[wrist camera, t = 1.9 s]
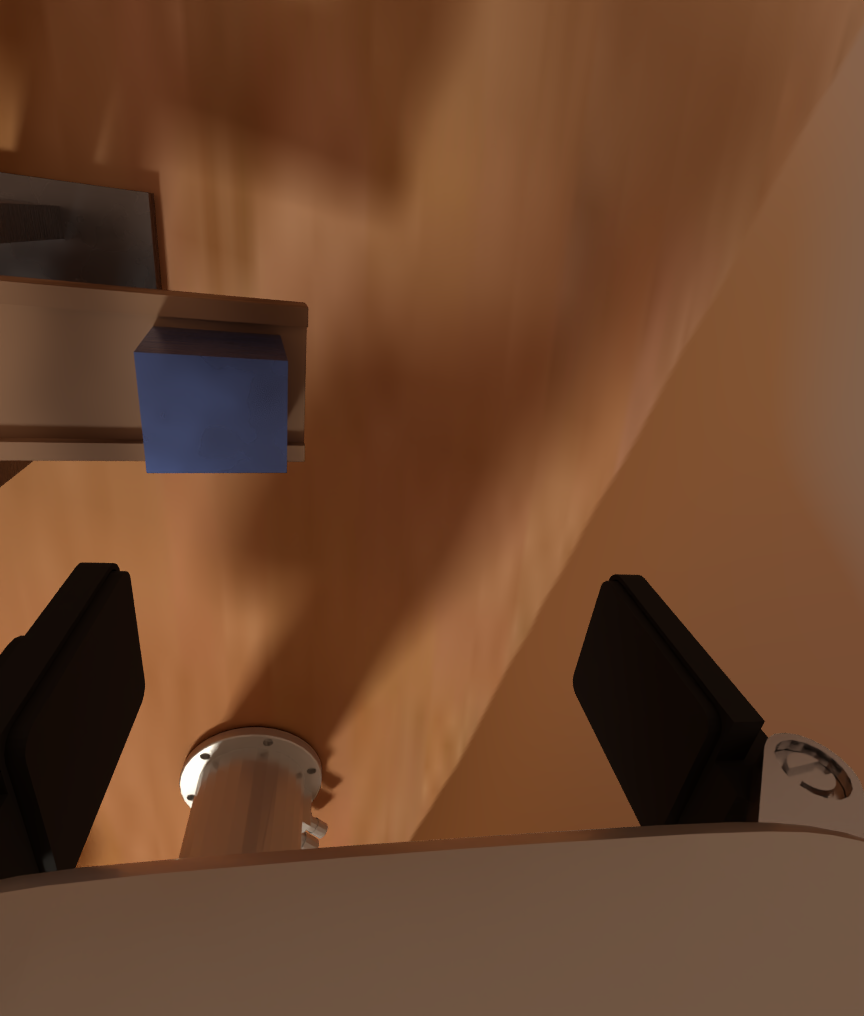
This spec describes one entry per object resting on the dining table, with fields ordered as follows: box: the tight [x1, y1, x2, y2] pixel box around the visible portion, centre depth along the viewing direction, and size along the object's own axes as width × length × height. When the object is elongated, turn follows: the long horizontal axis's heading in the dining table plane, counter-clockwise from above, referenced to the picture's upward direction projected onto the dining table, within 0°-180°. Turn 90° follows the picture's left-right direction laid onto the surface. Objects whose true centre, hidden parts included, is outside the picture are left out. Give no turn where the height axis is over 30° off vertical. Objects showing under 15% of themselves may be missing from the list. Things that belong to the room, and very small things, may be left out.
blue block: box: [134, 326, 288, 473], centre depth 22 cm, size 5×4×5 cm
